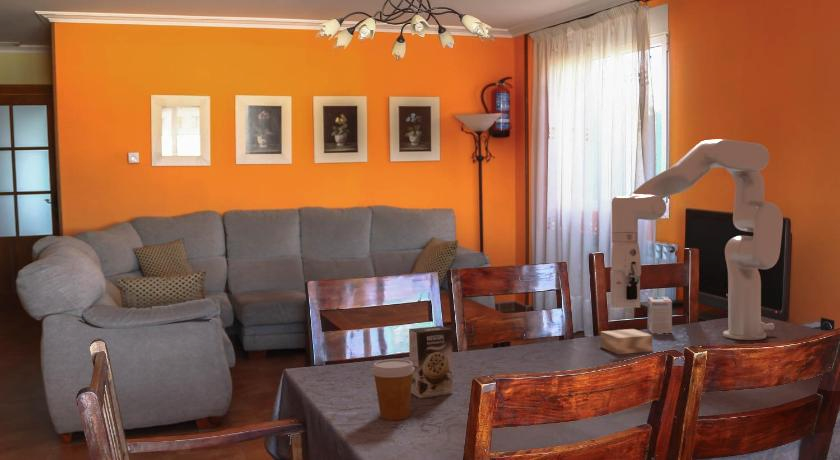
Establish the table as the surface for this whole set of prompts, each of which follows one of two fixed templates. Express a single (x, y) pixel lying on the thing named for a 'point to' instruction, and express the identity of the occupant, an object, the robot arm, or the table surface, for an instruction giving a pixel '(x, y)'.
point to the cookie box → (431, 361)
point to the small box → (622, 291)
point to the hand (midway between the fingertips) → (625, 297)
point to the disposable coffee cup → (393, 387)
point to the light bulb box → (659, 315)
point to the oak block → (626, 341)
